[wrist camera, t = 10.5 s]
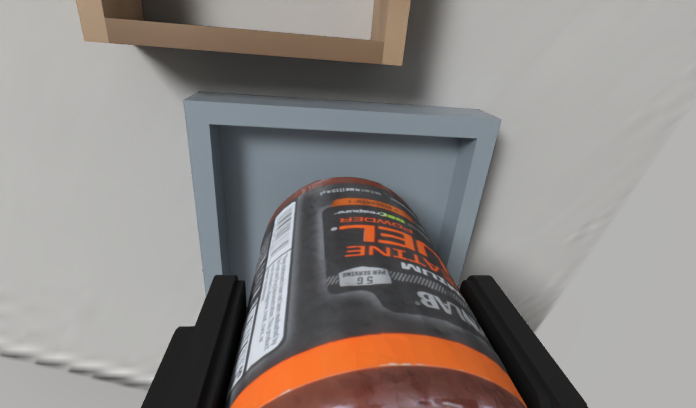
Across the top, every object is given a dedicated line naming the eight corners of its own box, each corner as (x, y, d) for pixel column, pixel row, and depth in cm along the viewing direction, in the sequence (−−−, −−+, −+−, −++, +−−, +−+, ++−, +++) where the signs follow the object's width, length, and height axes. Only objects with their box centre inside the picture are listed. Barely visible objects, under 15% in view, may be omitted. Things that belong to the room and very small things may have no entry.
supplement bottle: (444, 199, 13) (887, 739, 3) (379, 316, 15) (516, 853, 5) (291, 145, 12) (202, 841, 2) (243, 282, 14) (77, 943, 4)
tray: (199, 91, 12) (183, 100, 11) (478, 109, 14) (501, 119, 12) (220, 317, 17) (212, 347, 15) (431, 315, 18) (443, 342, 17)
